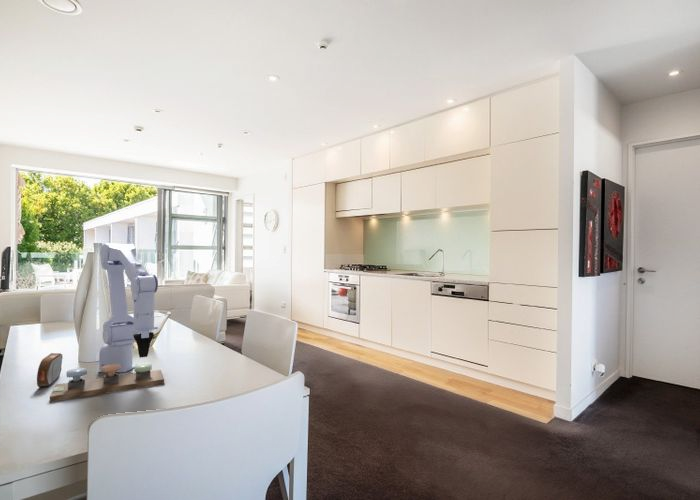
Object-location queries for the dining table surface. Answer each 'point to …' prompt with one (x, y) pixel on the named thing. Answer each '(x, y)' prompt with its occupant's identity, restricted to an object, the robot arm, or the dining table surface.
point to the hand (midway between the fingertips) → (143, 356)
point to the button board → (106, 385)
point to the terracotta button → (111, 369)
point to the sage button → (143, 368)
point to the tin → (49, 369)
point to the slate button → (76, 373)
